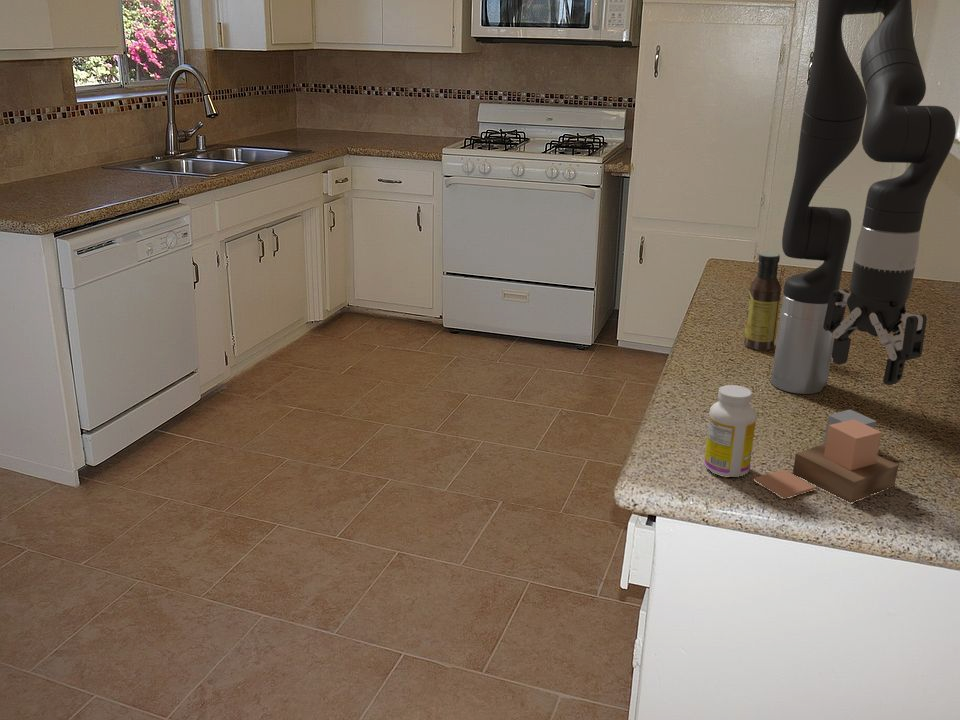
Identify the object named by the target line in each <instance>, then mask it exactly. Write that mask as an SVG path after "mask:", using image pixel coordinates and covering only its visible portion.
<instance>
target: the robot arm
mask: <svg viewBox="0 0 960 720" xmlns="http://www.w3.org/2000/svg"><path fill="white" fill-rule="evenodd" d="M877 13H881V14H882V15H883V18H882V20H881V21H880V23H879V25H878V26H877V27H876V29H875V30H874V31H873V33H872V35H871V36H870V38H869V39H868V41H867V42H866V44H865V45H864V48H863V51H862V53H861V59H860V74H861V77H862V78H861V79H862V81H861V79H860V77H859V75H858V73H857V71H856V70H855V69H856V68H855V67H854V66H853V64H852V61H851V60H850V57H849V55H848V52H847V50H846V47H845V44H844V41H843V33H842V31H843V30H842V24H843V18H844V16H849V15H851V16H852V15H868V14H871V15H873V14H877ZM913 27H914V25H913V11H912V0H818V4H817V15H816V28H815V35H814V36H815V37H814V38H815V39H814V47H813V56H812V62H811V68H810V73H809V80H808V85H807V90H806V91H807V92H806V95H805V101H804V106H803V112H802V120H801V125H800V133H799V141H798V150H797V160H796V165H795V166H796V167H795V173H794V178H793V183H792V187H791V192H790V196H789V202H788V207H787V212H786V215H785V218H784V224H783V230H782V238H781V240H782V241H781V244H782V245H781V246H782V251H783V254H784V255H785V256H786V257H787V258H792V259H796V260H797V259H798V260H808V261H810V260H811V261H823V263H822V264H820V265H819V266H817V267H816V268H814V269H812V270H809V271H807V272H802V273H797V274H794V275H792V276H790V277H788V278H786V279H785V282H784V286H783V292H782V293H783V294H782V301H781V307H780V313H779V315H780V316H779V320H778V327H777V334H776V344H775V351H774V355H773V356H774V357H773V362H772V363H773V364H772V370H771V379H770V383H771V385H772V386H774V387H775V388H776V389H779V390H781V391H785V392H789V393H792V394H801V395H812V394H817V393H819V392H822V391H823V388H824V387H827V385H828V380H829V374H830V368H831V367H830V366H831V364H832V363H833V364H836V365H837V366H838V365H844V364H846V363H847V362H848V358H849V353H850V347H851V343H852V338H851V337H850V336H851V335H853V333H854V332H855V331H860V332H862V333H863V332H864V333H865V332H866V333H868V334H869V335H870V336H873V337H875V338H877V337H878V339H879V342H880V344H881V345H882V346H884V348H885V351H886V352H887V355H888V357H889V358H887V360H886V364H885V370H884V375H883V381H882V383H883V384H884V385H886V386H893V385H896V384H897V383H898V382H900V381H901V379H903V373H904V370H905V364H906V361H911V360H913V359H918V358H920V357H922V354H923V347H924V340H925V336H926V335H925V333H926V328H927V327H926V326H927V320H928V319H927V315H926V314H925V313H920V314H914V313H909V312H907V310H906V309H907V308H906V303H907V301H908V299H909V298H910V295H911V290H912V284H913V280H914V275H915V269H916V264H917V260H918V254H919V248H920V234H921V228H922V224H923V218H924V213H925V207H926V204H927V200H928V197H929V195H930V192H931V190H932V187H933V185H934V183H935V181H936V179H937V177H938V175H939V172H941V171H940V170H941V169H942V167H943V165H944V163H945V162H946V159H947V158H948V155H949V154H950V152H951V149H952V148H953V144H954V141H955V138H956V133H957V131H956V130H957V127H956V121H955V118H954V115H953V114H952V112H951V111H950V110H949V109H948V108H946V107H944V106H940V105H920V104H921V102H922V101H923V100H924V99H925V95H926V91H927V85H926V84H927V83H926V80H925V75H924V73H923V69H922V66H921V65H922V64H921V62H920V59H919V55H918V52H917V48H916V44H915V38H914V37H915V36H914V28H913ZM865 116H866V117H865ZM863 125H864V126H863ZM861 136H862V137H861ZM860 139H861V146H862V149H863V151H864V152H865V154H866V155H867V156H868V158H870V159H871V160H873V161H875V162H878V163H897V164H899V163H901V164H902V163H903V164H908V163H909V166H908V167H907V168H906V170H905V171H904V173H903V172H902V174H901V175H899V176H896V177H892V178H887V179H882V180H878V181H875V182H874V183H872V184H871V185H870V186H869V189H868V191H867V195H866V200H865V208H864V212H863V213H864V214H863V219H862V225H861V228H860V232H859V233H858V234H859V235H858V238H857V240H856V241H857V242H856V247H855V252H854V258H853V263H852V270H851V276H850V282H849V286H848V287H849V291H850V292H849V291H848V289H847V288H845V289H844V288H842V289H840V285H841V279H842V273H843V268H844V265H845V259H846V255H847V251H848V245H849V242H850V237H851V232H852V217H851V213H850V211H848V210H847V209H846V208H840V207H828V206H827V207H825V206H810V204H811V201H812V200H813V197H814V196H815V194H816V192H817V191H818V190H819V188H820V186H822V184H823V183H824V181H825V180H826V179H827V178H828V177H829V176H830V175H831V174H832V173H833V172H834V171H835V170H836V169H837V168H838V167H840V165H841V164H842V163H843V162H844V161H845V160H846V159H847V158H848V157H849V155H851V153H853V151H854V149H855V148H856V146H857V145H858V144H859V142H860ZM846 308H848V310H849V314H848V315H847V316H846V317H845V314H846V313H845V312H846ZM844 317H845V318H844ZM902 323H903V325H902V326H901V324H902ZM903 329H904V331H903ZM891 333H892V335H893V336H891V335H890V334H891ZM831 361H832V363H831Z"/></svg>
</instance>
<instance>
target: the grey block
mask: <svg viewBox="0 0 960 720" xmlns="http://www.w3.org/2000/svg"><path fill="white" fill-rule="evenodd" d="M852 419H855V420H857V421H859V422H861V423H863V424H865V425H868V426H870V427H872V428H874V429H876V424H877V420H875V419H872V418H870V417H868V416H866V415H863V414H862V413H859V412H857V411H855V410H853V409H847V410H843V411H840V412H835V413H832V414H828V416H827V420H826V427H825V432H824V437H823V443H824V442H825V443H826V439H827V433H828V426H829V425H831V424H835V423H840V422H844V421H848V420H852ZM825 443H824V444H825Z"/></svg>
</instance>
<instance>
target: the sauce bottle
mask: <svg viewBox="0 0 960 720" xmlns="http://www.w3.org/2000/svg"><path fill="white" fill-rule="evenodd" d="M780 258H781V256H780V253H777V252H774V251H763V252H759V254H758V258H757V259H758V269H757V274H756V275H757V276H756V277H755V278H754V279H753V281H752V282H751V284H750V287H749V289H748V290H749V292H748V301H747V310H746V317H745V318H746V321H745V327H744V341H743V342H744V345H745V346H746V347H747V348H749V349H751V350H754V349H755V350H756V351H762V352H764V351H769V350H772V349H774V346H775V340H777V333H778V325H779V317H780V316H779V315H780V308H781V307H780V305H781V296H782V295H781V293H782V286H781V283H780V281H779V279H778V278H777V276H778V268H779V262H780Z"/></svg>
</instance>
